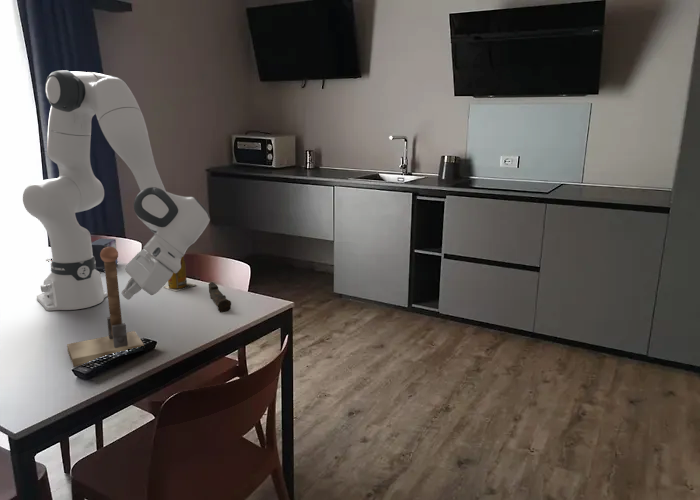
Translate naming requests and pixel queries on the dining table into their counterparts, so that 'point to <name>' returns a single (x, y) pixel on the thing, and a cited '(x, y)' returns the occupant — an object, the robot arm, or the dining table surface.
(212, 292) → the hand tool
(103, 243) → the small box
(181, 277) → the condiment
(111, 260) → the lever
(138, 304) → the dining table surface
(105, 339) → the press base
